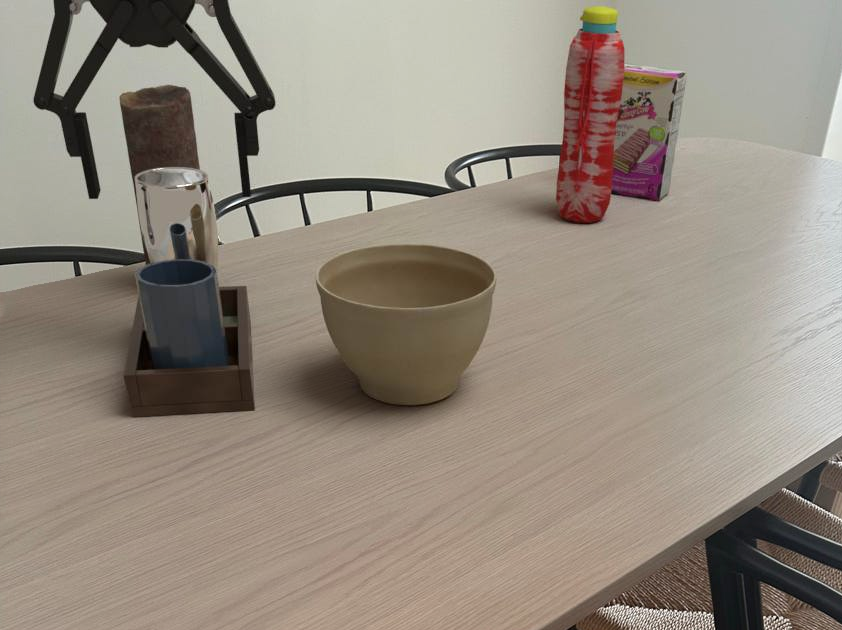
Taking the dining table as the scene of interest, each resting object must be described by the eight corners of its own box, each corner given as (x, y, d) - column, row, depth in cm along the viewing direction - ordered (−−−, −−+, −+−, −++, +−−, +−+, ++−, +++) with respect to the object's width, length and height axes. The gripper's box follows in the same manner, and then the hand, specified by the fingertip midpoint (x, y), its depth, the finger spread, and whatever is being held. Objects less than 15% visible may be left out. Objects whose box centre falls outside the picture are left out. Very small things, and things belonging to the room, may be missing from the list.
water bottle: (569, 199, 144) (586, -3, 128) (622, 207, 142) (646, 2, 126) (542, 222, 136) (557, 8, 120) (598, 231, 134) (621, 14, 118)
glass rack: (132, 417, 89) (123, 375, 86) (146, 327, 104) (139, 289, 101) (254, 410, 90) (249, 368, 88) (250, 322, 106) (246, 285, 103)
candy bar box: (588, 190, 148) (600, 66, 138) (600, 182, 152) (612, 60, 141) (660, 202, 145) (678, 75, 134) (670, 194, 148) (688, 69, 138)
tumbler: (163, 400, 89) (143, 290, 83) (149, 370, 94) (129, 263, 87) (238, 388, 91) (223, 280, 85) (221, 359, 96) (206, 255, 90)
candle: (226, 290, 113) (200, 94, 100) (164, 302, 109) (129, 101, 97) (200, 270, 117) (172, 80, 105) (140, 281, 114) (103, 86, 101)
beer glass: (167, 352, 97) (138, 189, 87) (155, 325, 101) (126, 169, 92) (238, 342, 99) (217, 183, 89) (223, 317, 104) (202, 163, 94)
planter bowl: (327, 350, 101) (319, 241, 94) (485, 350, 102) (488, 243, 95) (319, 425, 89) (309, 306, 82) (498, 424, 90) (504, 306, 83)
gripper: (-50, -93, 73) (22, 207, 87) (291, -81, 77) (310, 203, 91) (-31, -100, 79) (35, 183, 92) (287, -89, 83) (305, 180, 97)
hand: (171, 194), depth 92 cm, fingers open, 13 cm apart
